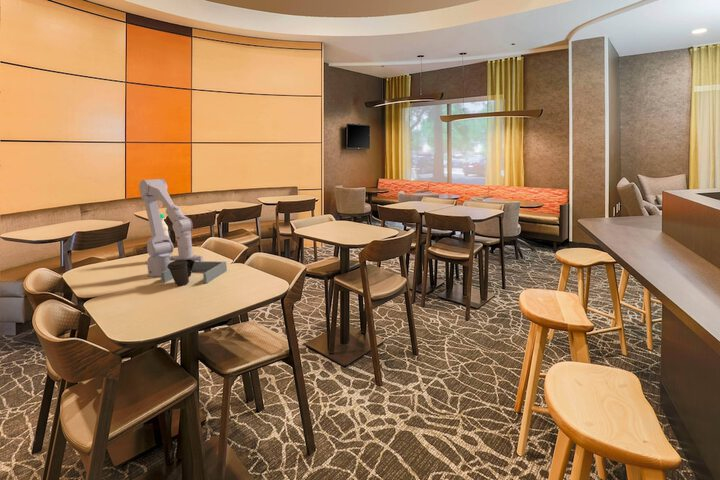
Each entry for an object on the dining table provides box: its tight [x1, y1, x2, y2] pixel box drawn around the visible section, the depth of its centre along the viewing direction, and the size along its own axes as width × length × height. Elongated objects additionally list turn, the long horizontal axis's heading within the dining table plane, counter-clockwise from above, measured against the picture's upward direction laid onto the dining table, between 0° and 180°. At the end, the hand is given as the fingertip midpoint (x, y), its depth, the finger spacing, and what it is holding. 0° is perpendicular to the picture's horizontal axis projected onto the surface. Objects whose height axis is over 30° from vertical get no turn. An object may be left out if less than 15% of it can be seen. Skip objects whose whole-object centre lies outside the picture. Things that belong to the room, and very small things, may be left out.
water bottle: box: [155, 213, 172, 256], centre depth 212 cm, size 7×7×25 cm
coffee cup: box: [167, 260, 190, 287], centre depth 172 cm, size 8×8×10 cm
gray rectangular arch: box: [161, 260, 228, 285], centre depth 185 cm, size 20×20×4 cm
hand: (188, 276), depth 178 cm, fingers closed, pressing on coffee cup
